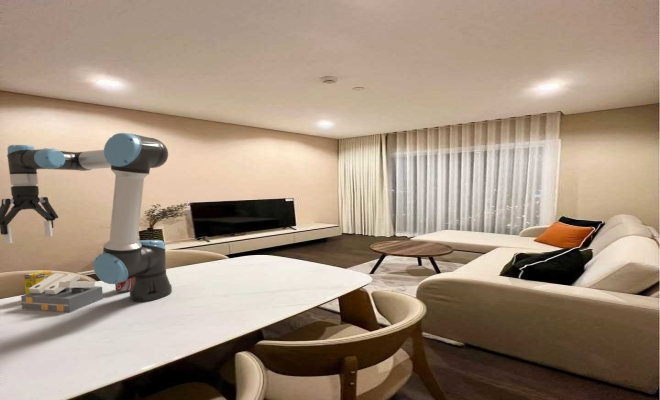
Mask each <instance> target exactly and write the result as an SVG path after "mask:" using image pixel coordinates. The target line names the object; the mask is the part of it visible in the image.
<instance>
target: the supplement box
mask: <svg viewBox="0 0 660 400" xmlns="http://www.w3.org/2000/svg"><path fill="white" fill-rule="evenodd" d="M51 275H52V271H49V270H39V271H36V272H31V273H25V274H24V275H23V276H24V289H25V295H26V294H29V293H30V291H29V288H30V287H32V286H34V285H36V284H37V283H39V282H41V281H43V280H44V279H46V278H48V277H49V276H51Z"/></svg>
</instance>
